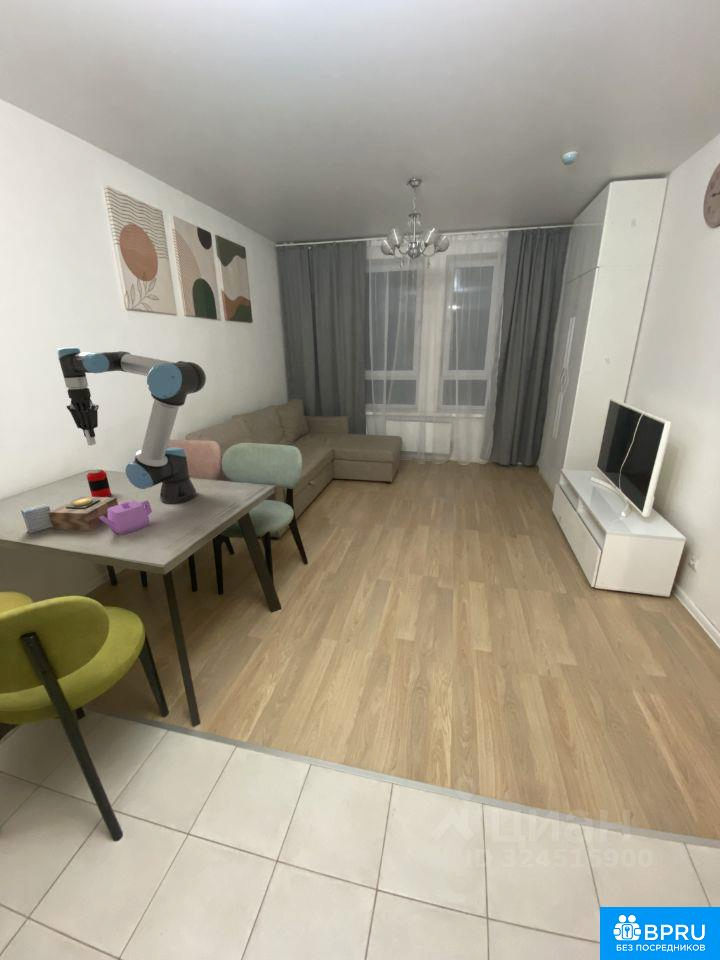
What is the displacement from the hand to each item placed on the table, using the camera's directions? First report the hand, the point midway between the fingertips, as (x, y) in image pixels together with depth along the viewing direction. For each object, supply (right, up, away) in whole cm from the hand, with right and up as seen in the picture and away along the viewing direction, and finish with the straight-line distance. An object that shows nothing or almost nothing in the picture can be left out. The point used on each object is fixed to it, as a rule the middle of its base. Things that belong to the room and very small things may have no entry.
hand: (92, 444), depth 169 cm
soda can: (-6, -23, +16) cm, 29 cm away
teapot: (+25, -33, -16) cm, 45 cm away
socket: (+5, -31, -10) cm, 33 cm away
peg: (+5, -31, -10) cm, 33 cm away
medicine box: (-9, -34, -16) cm, 38 cm away
